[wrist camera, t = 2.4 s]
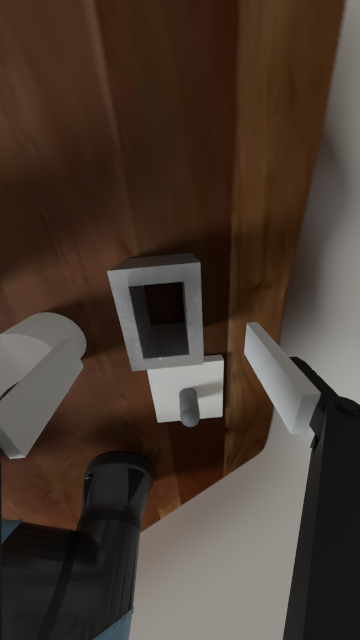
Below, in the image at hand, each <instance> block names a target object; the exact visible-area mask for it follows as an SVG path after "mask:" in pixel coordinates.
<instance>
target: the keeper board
mask: <svg viewBox="0 0 360 640" xmlns="http://www.w3.org/2000/svg"><path fill="white" fill-rule="evenodd" d="M223 370H224V360H223V357H222V355H212V356H204V364H203V365H192V366H182V367H171V368H160V369H150V370H147V372H148V377H149V382H150V387H151V392H152V397H153V401H154V406H155V411H156V416H157V421H158V423H160V422H171V421H182V423H183V424H184V425H185V426H187V427H193V426H195V425H196V424H197V423H198V422H199V420H200V419H203V418H213V417H222V410H223Z"/></svg>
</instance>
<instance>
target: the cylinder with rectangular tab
mask: <svg viewBox="0 0 360 640" xmlns="http://www.w3.org/2000/svg"><path fill="white" fill-rule="evenodd" d="M62 339H72V340H73V342H74V345H75V347H76V350H77V352H78V355H79V357H80V358H81V357H82V356H83V354H84V353H85V350H86V339H85V336H84V333H83V332H82V331H81V329H80V328H79V327H78V326H77V325H76V324H75V323H74V322H73V321H72V320H70V319H68V318H66V317H65V316H62V315H59V314H56V313H49V312H44V313H37V314H35V315H32V316H30V317H29V318H27V319H25V320H24V321H22V322H20V323H19V324H17V325H15V326H14V327H12V328H10V329H9V330H7V331H5V332H4V333H2V334H0V397H1V395H2V394H3V393H4V392H5V391H6V390H7V389H8V388H10V387H11V386H13V385H14V384H16V383H17V382H19V381H21V380H22V379H23V378H24V377H25V376H26V375H27V374H28V373H29V372H30V371H31V370H32V369H33V368H34V367H35V366H36V365H37V364H38V363H39V362H40V361H41V360H42V359H43V358H44V357H45V356H46V355H47V354H48V353H49V352H50V351H51V350H52V349H53V348H54V347H55V346H56V345H57V344H58V343H59V342H60V341H61V340H62Z"/></svg>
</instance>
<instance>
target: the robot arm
mask: <svg viewBox="0 0 360 640" xmlns="http://www.w3.org/2000/svg"><path fill="white" fill-rule="evenodd" d="M244 354H245V355H246V357H247V359H248V361H249V362H250V364H251V366H252V368H253V369H254V371H255V373H256V375H257V376H258V378H259V380H260V382H261V383H262V385H263V387H264V389H265V390H266V392H267V394H268V396H269V397H270V399H271V401H272V403H273V404H274V406H275V408H276V410H277V411H278V413H279V415H280V417H281V418H282V420H283V422H284V424H285V425H286V427H287V429H288V431H289V432H290V434H291V435H297V434H306V433H307V431H308V429H309V426H310V427H311V428H312V430H313V431H314V433H315V435H314V438H313V441H312V443H311V446H310V447H311V448H312V451H311V458H310V465H309V471H308V478H307V484H306V491H305V498H304V504H303V511H302V517H301V524H300V531H299V537H298V544H297V550H296V557H295V563H294V570H293V576H292V583H291V590H290V596H289V602H288V609H287V615H286V622H285V629H284V636H283V640H360V405H359V404H357V403H356V402H354V401H352V400H350V399H348V398H345V397H341V396H338V395H337V394H336V392H334V390H333V389H331V387H330V386H328V384H327V383H325V382H324V380H323V379H321V377H320V376H319V375H317V373H316V372H315V371H314V370H312V368H311V367H310V366H309V365H308V364H307V363H306V362H304V361H303V360H301V359H299V358H298V357H288V356H287V355H286V354H285V353H284V351H283V350H282V349H281V348H280V347H279V346H278V345H277V344H276V342H275V341H274V340H273V339H272V338H271V337H270V336H269V335H268V334H267V332H266V331H265V330H264V329H263V328H262V327H261V326H260V325H259V324H258V322H252V323H247V327H246V338H245V349H244ZM82 369H83V364H82V362H81V359H80V357H79V355H78V352H77V350H76V347H75V345H74V342H73V340H72V339H62V340H61V341H60V342H59V343H58V344H57V345H56V346H55V347H54V348H53V349H52V350H51V351H50V352H49V353H48V354H47V355H46V356H45V357H44V358H43V359H42V360H41V361H40V362H39V363H38V364H37V365H36V366H35V367H34V368H33V369H32V370H31V371H30V372H29V373H28V374H27V375H26V376H25V377H24V378H23V379H22V380H21V381H19V382H17V383H16V384H14V385H13V386H11V387H10V388H8V389H7V390H6V391H5V392H4V393H3V394H2V395H1V397H0V456H1V455H2V453H3V452H4V453H5V454H6V455H7V456H8V457H9V458H10V459H13V458H25V457H26V455H27V454H28V452H29V451H30V449H31V448H32V446H33V445H34V443H35V442H36V440H37V438H38V437H39V435H40V434H41V432H42V431H43V429H44V428H45V426H46V425H47V423H48V421H49V420H50V418H51V417H52V415H53V414H54V412H55V411H56V409H57V407H58V406H59V404H60V403H61V401H62V400H63V398H64V397H65V395H66V394H67V392H68V390H69V389H70V387H71V386H72V384H73V383H74V381H75V380H76V378H77V377H78V375H79V373H80V372H81V370H82ZM153 477H154V468H153V465H152V464H151V463H150V462H149V461H148V460H147V459H145V458H144V457H142V456H139V455H136V454H133V453H127V452H111V453H106V454H102V455H100V456H98V457H96V458H94V459H93V460H92V461H91V462H90V463H89V465H88V468H87V470H86V473H85V476H84V484H83V496H82V508H81V515H80V519H79V522H78V525H77V528H76V531H73V530H69V529H62V528H56V527H50V526H44V525H38V524H32V523H26V522H22V521H23V519H20V520H18V521H17V520H6V519H2V512H1V462H0V640H128V638H129V632H130V625H131V618H132V614H133V609H134V608H133V599H134V590H135V579H136V568H137V559H138V548H139V538H140V528H141V519H142V515H143V512H144V509H145V506H146V503H147V500H148V497H149V494H150V491H151V488H152V485H153Z"/></svg>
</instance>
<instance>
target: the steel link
mask: <svg viewBox="0 0 360 640" xmlns="http://www.w3.org/2000/svg"><path fill="white" fill-rule="evenodd" d="M107 273H108V277H109V281H110V285H111V289H112V293H113V297H114V301H115V305H116V309H117V313H118V317H119V321H120V325H121V329H122V333H123V336H124V340H125V344H126V348H127V352H128V356H129V360H130V364H131V368H132V371H139V370H150V369H160V368H171V367H182V366H192V365H203V364H204V356H203V326H202V297H201V267H200V261H199V260H198V259H197V258H196V257H195V256H194V255H193V254H192V253H183V254H172V255H161V256H150V257H140V258H129V259H126V260H124V261H123V262H121V263H119V264H118V265H116V266H114V267H113V268H111V269H110V270H108V271H107ZM172 282H182V294H183V307H184V319H185V322H179V323H168V324H157V325H151V323H150V317H149V311H148V306H147V300H146V294H145V288H144V285H150V284H161V283H172Z"/></svg>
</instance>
